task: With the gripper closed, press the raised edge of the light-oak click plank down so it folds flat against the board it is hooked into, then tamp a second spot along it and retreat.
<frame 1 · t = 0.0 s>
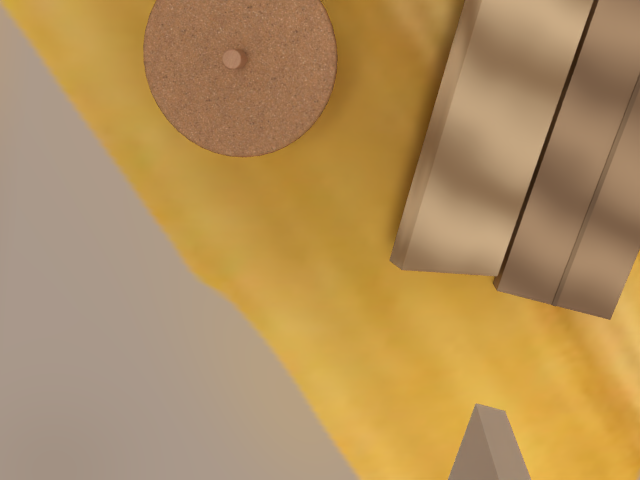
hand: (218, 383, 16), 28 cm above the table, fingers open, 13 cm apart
laid board: (627, 86, 39), on the table
lidded jar: (263, 60, 41), on the table
plank: (513, 54, 37), point 3 cm above the table, hinge at 30.0°
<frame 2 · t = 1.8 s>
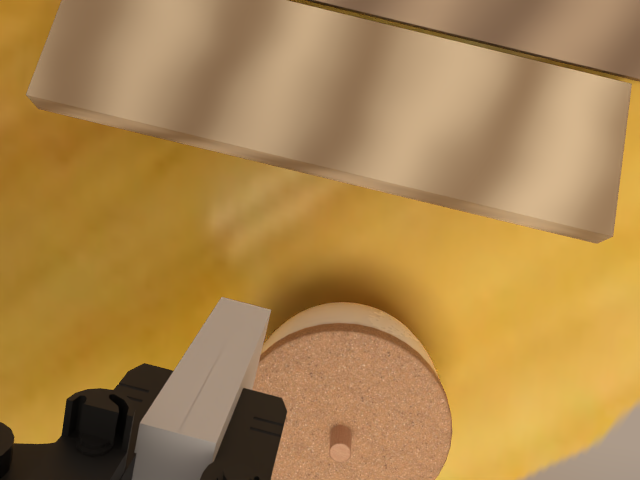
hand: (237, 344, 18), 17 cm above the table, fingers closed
lidded jar: (345, 357, 37), on the table
plank: (337, 96, 30), point 3 cm above the table, hinge at 30.0°
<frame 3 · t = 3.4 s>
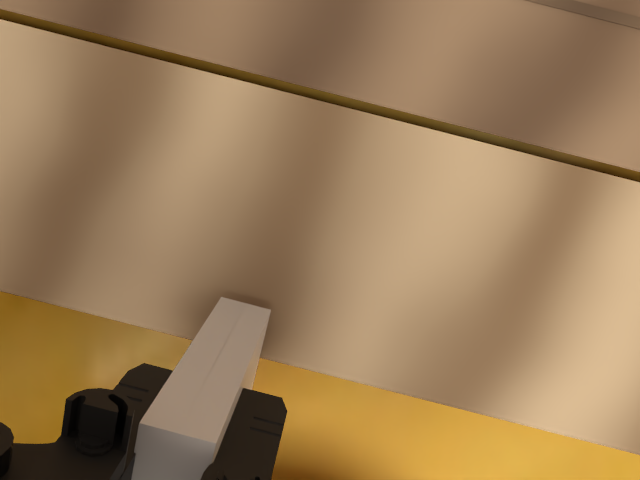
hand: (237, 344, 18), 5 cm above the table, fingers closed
plank: (265, 222, 19), point 2 cm above the table, hinge at 20.9°, touching gripper
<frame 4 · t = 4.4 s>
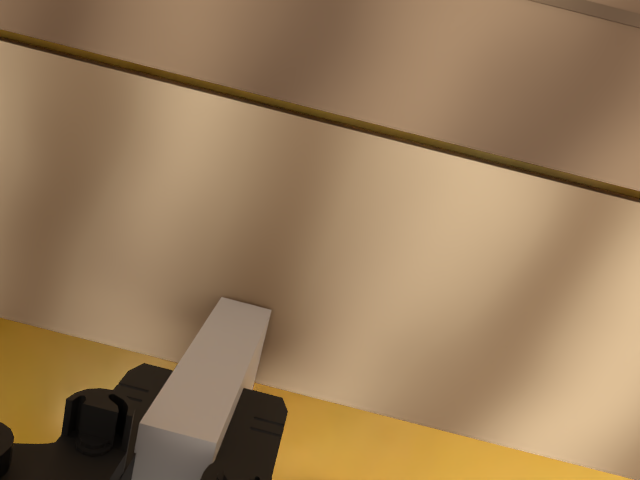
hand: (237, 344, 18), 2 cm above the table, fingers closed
plank: (251, 243, 18), point 1 cm above the table, hinge at 2.1°, touching gripper
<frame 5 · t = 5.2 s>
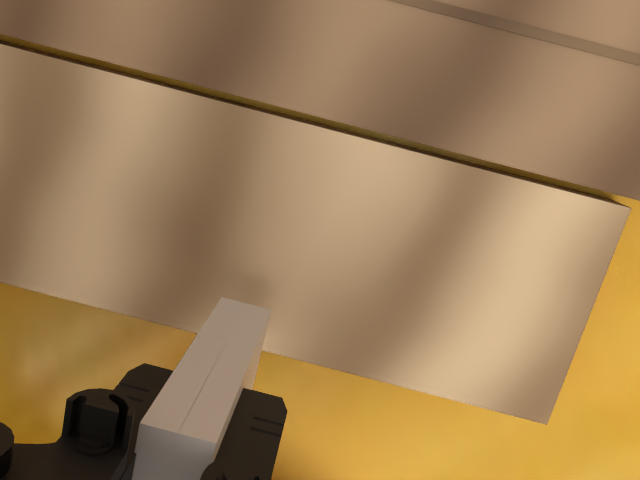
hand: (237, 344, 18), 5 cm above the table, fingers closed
plank: (188, 212, 21), point 1 cm above the table, hinge at 2.1°
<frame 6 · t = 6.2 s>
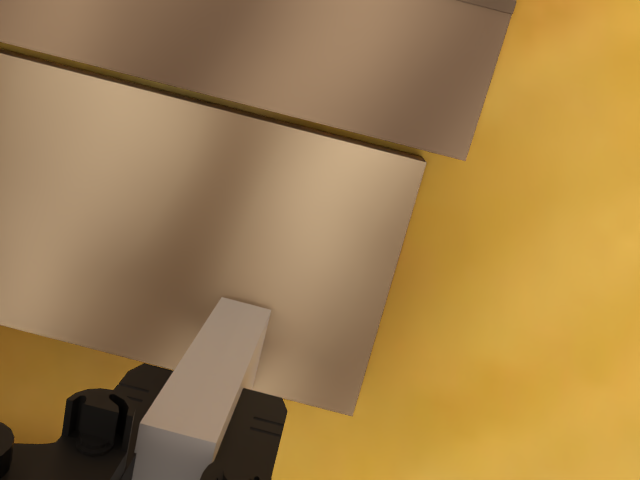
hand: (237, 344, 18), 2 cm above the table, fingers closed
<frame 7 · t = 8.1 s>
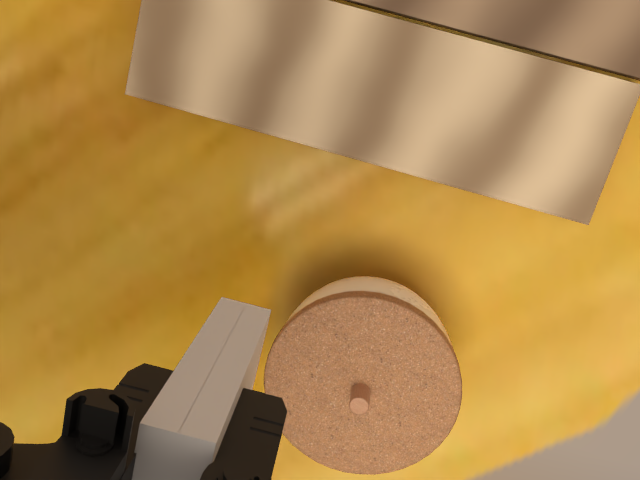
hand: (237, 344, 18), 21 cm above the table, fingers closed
lidded jar: (368, 330, 41), on the table
plank: (372, 89, 35), point 1 cm above the table, hinge at 2.0°
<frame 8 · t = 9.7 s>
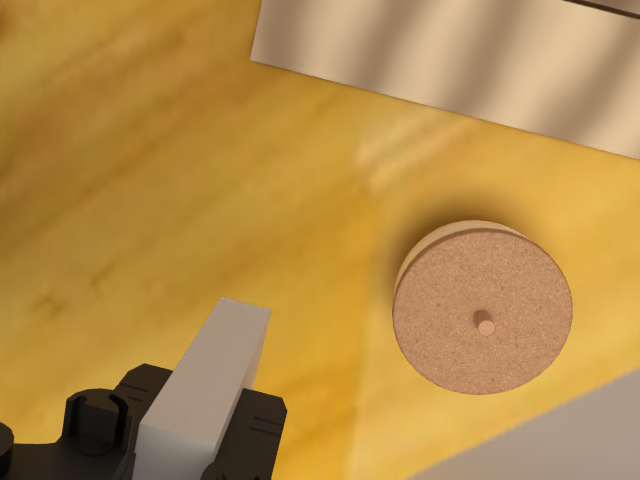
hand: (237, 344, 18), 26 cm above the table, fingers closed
lidded jar: (463, 274, 45), on the table
plank: (476, 51, 39), point 1 cm above the table, hinge at 2.0°
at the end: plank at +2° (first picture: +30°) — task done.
